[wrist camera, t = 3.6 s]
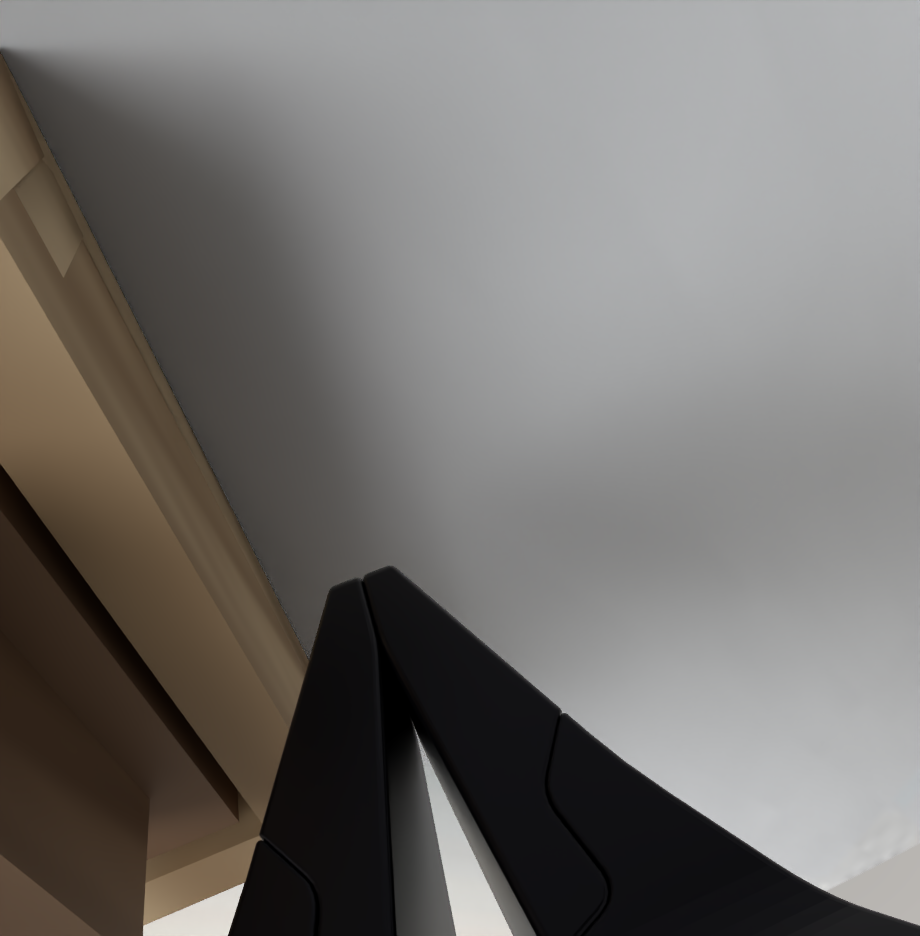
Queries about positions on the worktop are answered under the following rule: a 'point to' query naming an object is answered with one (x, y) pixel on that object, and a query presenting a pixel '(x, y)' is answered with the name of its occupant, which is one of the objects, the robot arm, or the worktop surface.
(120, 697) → the cover plate
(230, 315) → the worktop surface
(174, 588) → the tan wooden rectangular frame
